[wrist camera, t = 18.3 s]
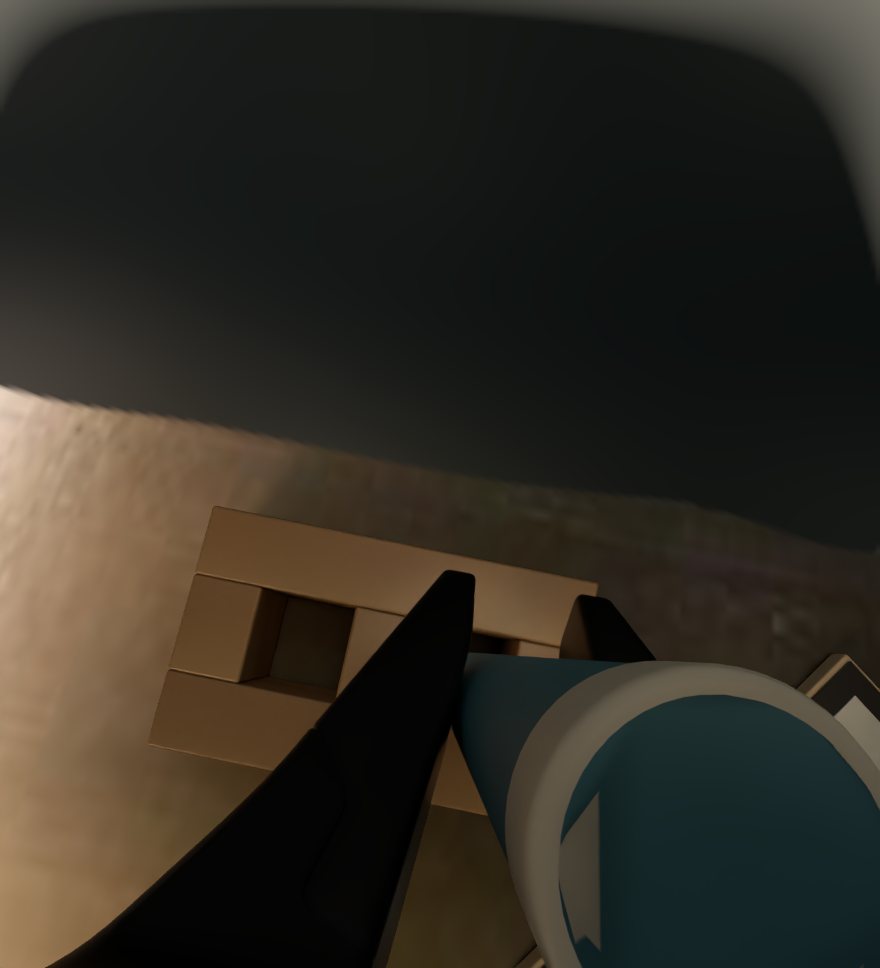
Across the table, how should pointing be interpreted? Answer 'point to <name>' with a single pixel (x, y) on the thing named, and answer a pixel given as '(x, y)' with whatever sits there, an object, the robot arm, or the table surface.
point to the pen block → (378, 611)
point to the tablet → (846, 697)
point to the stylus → (675, 813)
